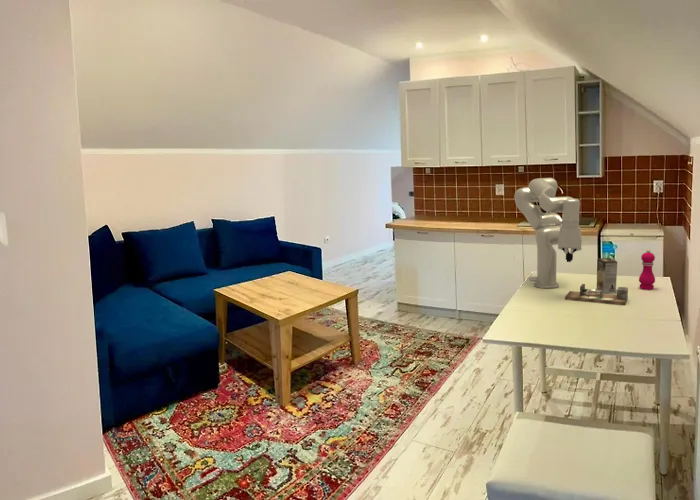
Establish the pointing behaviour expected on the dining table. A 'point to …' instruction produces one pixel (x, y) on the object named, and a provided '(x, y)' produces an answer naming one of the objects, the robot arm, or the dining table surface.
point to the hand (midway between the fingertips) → (569, 261)
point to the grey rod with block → (587, 290)
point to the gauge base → (607, 299)
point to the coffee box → (606, 275)
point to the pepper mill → (647, 271)
